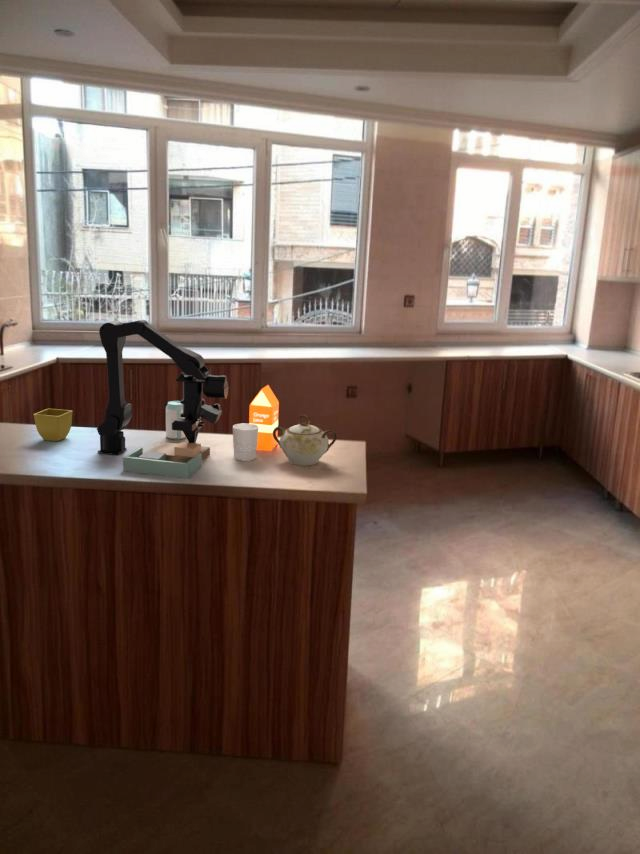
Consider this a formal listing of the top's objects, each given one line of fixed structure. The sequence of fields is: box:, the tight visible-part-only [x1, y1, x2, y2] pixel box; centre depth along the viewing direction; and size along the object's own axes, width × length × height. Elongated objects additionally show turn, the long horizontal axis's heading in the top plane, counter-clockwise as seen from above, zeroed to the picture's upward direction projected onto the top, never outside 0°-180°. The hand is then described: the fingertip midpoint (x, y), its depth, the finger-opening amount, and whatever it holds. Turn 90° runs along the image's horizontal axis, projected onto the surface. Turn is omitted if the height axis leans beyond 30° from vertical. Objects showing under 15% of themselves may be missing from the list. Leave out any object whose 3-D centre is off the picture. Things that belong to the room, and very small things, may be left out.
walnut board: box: [147, 441, 211, 463], centre depth 201 cm, size 16×12×2 cm
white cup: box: [232, 422, 259, 462], centre depth 204 cm, size 8×8×10 cm
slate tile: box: [138, 450, 166, 461], centre depth 193 cm, size 6×6×2 cm
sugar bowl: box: [273, 414, 337, 467], centre depth 202 cm, size 20×15×15 cm
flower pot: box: [33, 408, 73, 442], centre depth 212 cm, size 9×9×9 cm
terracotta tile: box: [174, 441, 202, 457], centre depth 197 cm, size 6×6×2 cm
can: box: [165, 400, 186, 440], centre depth 221 cm, size 7×7×12 cm
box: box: [122, 446, 203, 479], centre depth 190 cm, size 19×11×4 cm, turn 80°
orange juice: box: [248, 384, 280, 452], centre depth 215 cm, size 8×9×20 cm
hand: (192, 446), depth 201 cm, fingers closed
